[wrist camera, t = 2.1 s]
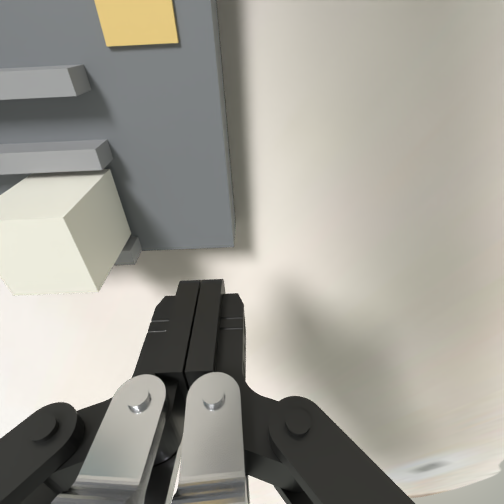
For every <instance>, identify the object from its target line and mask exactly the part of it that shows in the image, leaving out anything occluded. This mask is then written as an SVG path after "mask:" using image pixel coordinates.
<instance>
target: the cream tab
mask: <svg viewBox="0 0 504 504" xmlns="http://www.w3.org/2000/svg"><path fill="white" fill-rule="evenodd" d="M130 235H131V231H130V228H129V225H128V222H127V219H126V216H125V213H124V210H123V207H122V204H121V201H120V198H119V195H118V192H117V189H116V186H115V183H114V180H113V177H112V174H111V171H110V169H103V170H93V171H71V172H49V173H32V174H30V175H29V176H28V177H26V178H25V179H23V180H22V181H20V182H19V183H17V184H16V185H14V186H13V187H12V188H10V189H9V190H7V191H6V192H4V193H3V194H1V195H0V277H1V279H2V280H3V282H4V283H5V284H6V286H7V287H8V289H9V290H10V292H11V293H12V294H13V296H19V295H46V294H72V293H98V292H99V290H100V289H101V287H102V285H103V283H104V282H105V280H106V278H107V276H108V274H109V273H110V271H111V269H112V267H113V265H114V264H115V262H116V260H117V258H118V256H119V255H120V253H121V251H122V249H123V248H124V246H125V244H126V242H127V240H128V239H129V237H130Z"/></svg>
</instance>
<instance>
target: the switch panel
mask: <svg viewBox="0 0 504 504" xmlns="http://www.w3.org/2000/svg"><path fill="white" fill-rule="evenodd" d="M103 169H110V171H111V174H112V177H113V180H114V183H115V186H116V189H117V192H118V195H119V198H120V201H121V204H122V207H123V210H124V213H125V216H126V219H127V222H128V225H129V228H130V231H131V235H130V237H129V239H128V240H127V242H126V244H125V246H124V248H123V249H122V251H121V253H120V255H119V256H118V258H117V260H116V262H115V264H114V265H131V264H135V263H136V261H137V259H138V257H139V255H140V253H141V251H147V250H172V249H197V248H222V247H234V238H235V211H234V200H233V188H232V176H231V165H230V153H229V142H228V130H227V118H226V107H225V95H224V83H223V72H222V60H221V49H220V37H219V25H218V14H217V2H216V0H0V195H1V194H3V193H4V192H6V191H7V190H9V189H10V188H12V187H13V186H14V185H16V184H17V183H19V182H20V181H22V180H23V179H25V178H26V177H28V176H29V175H30V174H32V173H49V172H71V171H93V170H103Z"/></svg>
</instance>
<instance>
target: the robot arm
mask: <svg viewBox="0 0 504 504" xmlns="http://www.w3.org/2000/svg"><path fill="white" fill-rule="evenodd" d="M245 378H246V328H245V316H244V304H243V302H242V300H241V298H240V297H239V295H238V293H235V294H225V287H224V280H223V279H214V280H191V281H180V282H179V285H178V289H177V292H176V296H165V297H164V298H163V299H162V301H161V302H160V303H159V304H158V305H157V306H156V308H155V311H154V314H153V317H152V322H151V323H150V326H149V329H148V333H147V335H146V338H145V341H144V344H143V347H142V350H141V353H140V356H139V359H138V362H137V365H136V368H135V371H134V374H133V376H132V378H131V379H129V380H128V381H126V382H125V383H124V384H123V385H121V387H120V388H119V389H118V390H117V391H116V393H115V394H114V396H113V397H112V398H110V399H109V400H106V401H104V402H101V403H98V404H95V405H92V406H90V407H87V408H84V409H81V410H78V411H76V410H75V409H74V407H72V406H71V405H70V404H68V403H64V402H58V403H53V404H49V405H47V406H44V407H42V408H41V409H39V410H37V411H36V412H34V413H33V414H32V415H31V416H29V417H28V418H27V419H25V420H24V421H23V422H21V423H20V424H19V425H18V426H16V427H15V428H14V429H12V430H11V431H10V432H9V433H7V434H6V435H5V436H3V437H2V438H1V439H0V504H250V496H249V480H248V475H250V476H253V477H255V478H257V479H260V480H262V481H265V482H267V483H270V484H272V485H274V487H275V488H276V490H277V491H278V493H279V494H280V495H281V497H282V498H283V500H284V501H285V502H286V504H415V503H414V502H413V501H412V500H411V499H410V498H409V497H408V496H407V495H406V494H405V493H404V492H403V491H402V490H401V489H400V488H399V487H398V486H397V485H396V484H395V483H394V482H393V481H392V480H391V479H390V478H389V477H388V476H387V475H386V474H385V473H384V472H383V471H382V470H381V469H380V468H379V467H378V466H377V465H376V464H375V463H374V462H373V461H372V460H371V459H370V458H369V457H368V456H367V455H366V454H365V453H364V452H363V451H362V450H361V449H360V448H359V447H358V446H357V445H356V444H355V443H354V442H353V441H352V440H351V439H350V438H349V437H348V436H347V435H346V434H345V433H344V432H343V431H342V430H341V429H340V428H339V427H338V426H337V425H336V424H335V423H334V422H333V421H332V420H331V419H330V418H329V417H328V416H327V415H326V414H325V413H324V412H323V411H322V410H321V409H320V408H319V407H318V406H317V405H316V404H315V403H314V402H312V401H311V400H309V399H307V398H304V397H300V396H290V397H286V398H284V399H282V400H280V401H276V400H273V399H270V398H266V397H263V396H261V395H259V394H257V393H255V392H254V391H253V390H252V389H251V388H250V387H249V386H248V385H247V383H246V382H245ZM180 460H181V464H180ZM179 464H180V475H179V484H178V489H177V492H176V494H175V495H174V497H173V499H172V496H173V491H174V487H175V482H176V478H177V473H178V469H179ZM171 500H172V503H171Z"/></svg>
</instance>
